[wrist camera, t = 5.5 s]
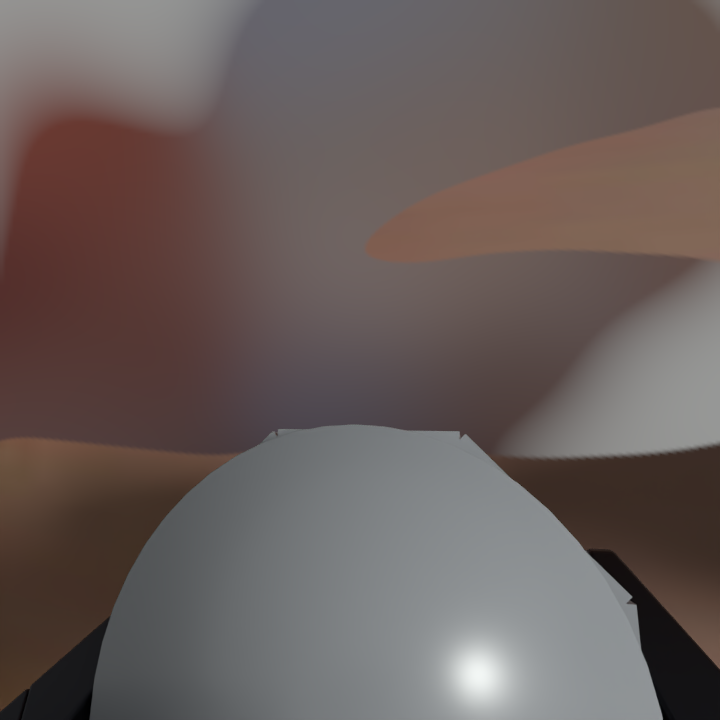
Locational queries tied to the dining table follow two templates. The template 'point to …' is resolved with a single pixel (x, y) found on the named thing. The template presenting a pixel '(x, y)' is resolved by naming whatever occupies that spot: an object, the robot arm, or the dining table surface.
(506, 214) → the dining table surface
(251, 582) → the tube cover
